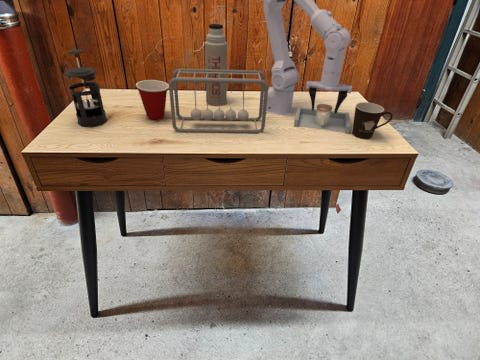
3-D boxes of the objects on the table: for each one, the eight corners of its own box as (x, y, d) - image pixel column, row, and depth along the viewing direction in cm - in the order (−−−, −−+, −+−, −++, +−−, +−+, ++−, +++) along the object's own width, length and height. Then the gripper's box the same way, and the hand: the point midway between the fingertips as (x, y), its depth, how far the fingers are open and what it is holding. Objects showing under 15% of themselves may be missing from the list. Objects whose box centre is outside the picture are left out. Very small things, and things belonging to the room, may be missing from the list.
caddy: (293, 127, 110) (294, 119, 108) (296, 113, 120) (297, 105, 118) (348, 134, 107) (350, 126, 105) (347, 119, 117) (348, 111, 115)
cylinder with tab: (313, 127, 110) (316, 110, 106) (314, 119, 115) (317, 103, 111) (328, 129, 109) (332, 112, 105) (328, 121, 114) (332, 104, 110)
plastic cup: (174, 122, 110) (170, 88, 103) (141, 125, 107) (136, 90, 100) (170, 110, 118) (167, 77, 111) (140, 112, 116) (135, 79, 109)
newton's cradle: (261, 120, 114) (265, 70, 104) (264, 134, 105) (269, 80, 95) (176, 119, 112) (172, 67, 102) (172, 132, 104) (167, 78, 94)
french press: (99, 129, 104) (81, 56, 90) (71, 127, 104) (49, 54, 91) (114, 114, 113) (99, 46, 100) (88, 112, 114) (70, 44, 100)
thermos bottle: (222, 107, 122) (222, 27, 106) (203, 104, 124) (200, 25, 107) (229, 100, 128) (230, 23, 112) (210, 97, 130) (209, 21, 114)
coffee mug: (345, 137, 105) (353, 109, 99) (351, 127, 111) (358, 100, 106) (382, 146, 101) (392, 117, 95) (386, 135, 107) (395, 107, 101)
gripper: (308, 72, 100) (302, 112, 108) (356, 76, 97) (346, 118, 105) (309, 65, 105) (303, 105, 113) (354, 70, 103) (345, 109, 111)
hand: (324, 110), depth 110 cm, fingers open, 7 cm apart
